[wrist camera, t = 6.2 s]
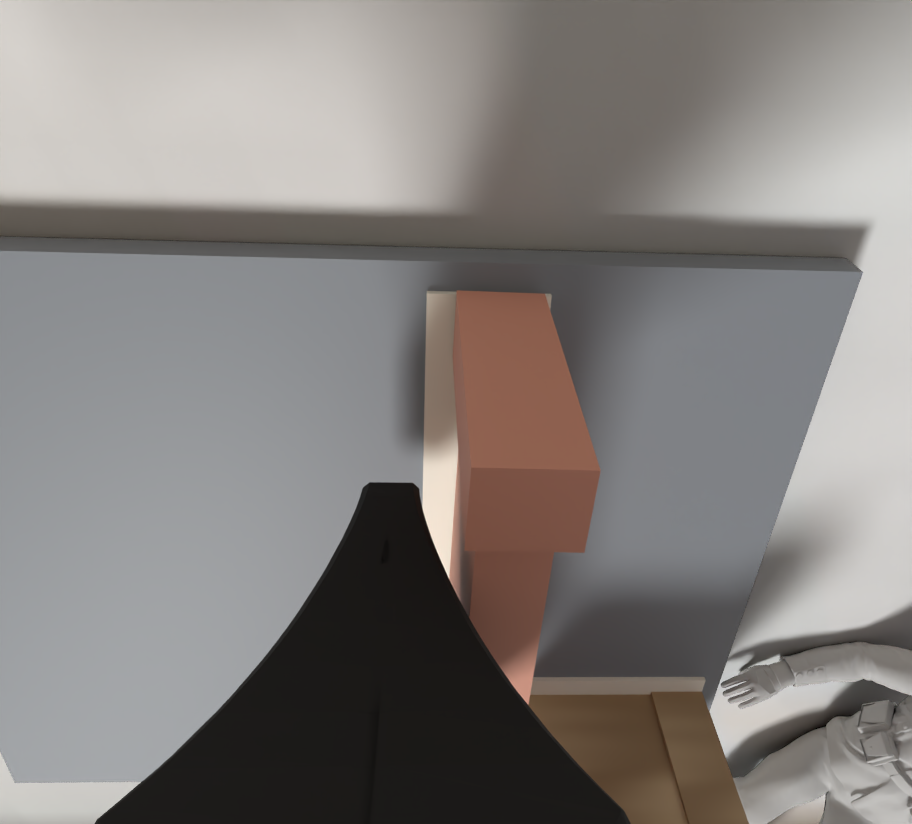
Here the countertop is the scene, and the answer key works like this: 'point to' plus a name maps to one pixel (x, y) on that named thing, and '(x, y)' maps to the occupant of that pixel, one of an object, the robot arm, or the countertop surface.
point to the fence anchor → (648, 754)
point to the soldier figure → (836, 740)
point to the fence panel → (515, 471)
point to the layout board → (361, 461)
